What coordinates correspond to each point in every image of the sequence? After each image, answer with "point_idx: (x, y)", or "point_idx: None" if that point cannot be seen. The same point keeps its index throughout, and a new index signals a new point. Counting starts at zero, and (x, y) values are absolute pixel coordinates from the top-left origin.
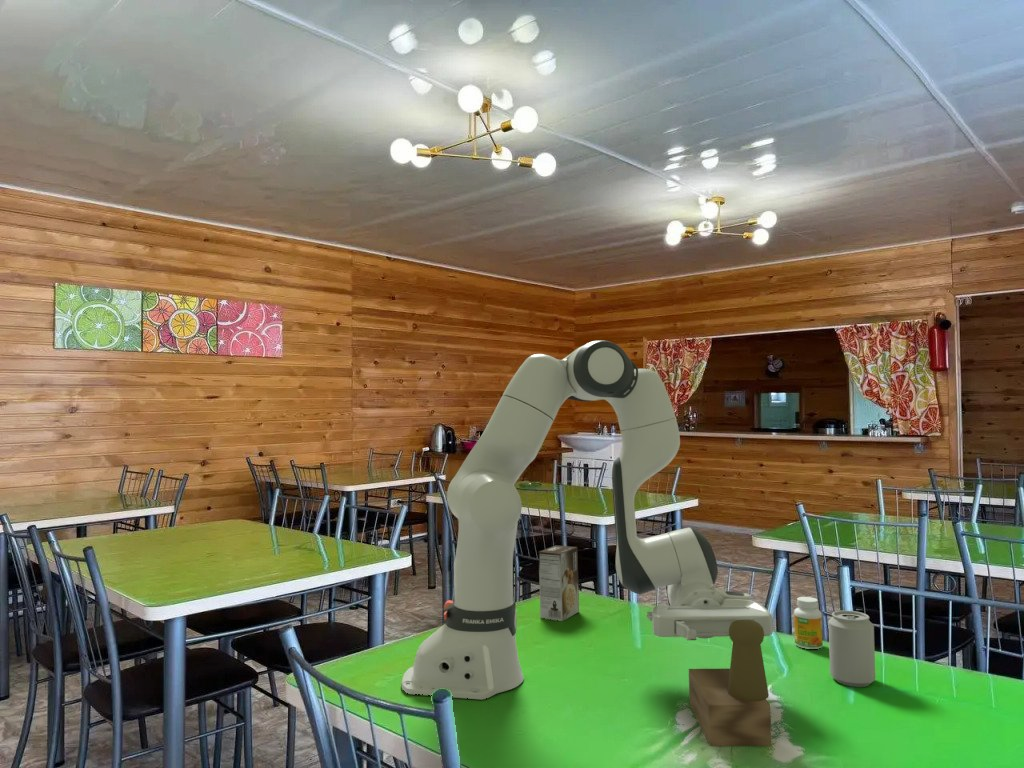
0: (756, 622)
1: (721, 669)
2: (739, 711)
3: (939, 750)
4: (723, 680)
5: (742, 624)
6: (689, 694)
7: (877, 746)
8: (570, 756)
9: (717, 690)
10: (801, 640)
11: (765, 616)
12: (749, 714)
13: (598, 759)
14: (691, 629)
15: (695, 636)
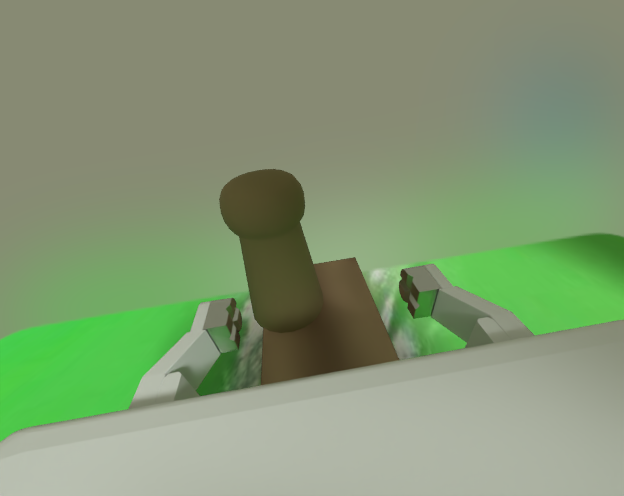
0: (230, 183)
1: None
2: None
3: (73, 336)
4: (327, 354)
5: (271, 170)
6: None
7: (141, 334)
8: (508, 252)
9: (342, 304)
10: None
11: (33, 428)
12: None
13: (474, 253)
14: (419, 268)
15: (402, 280)
